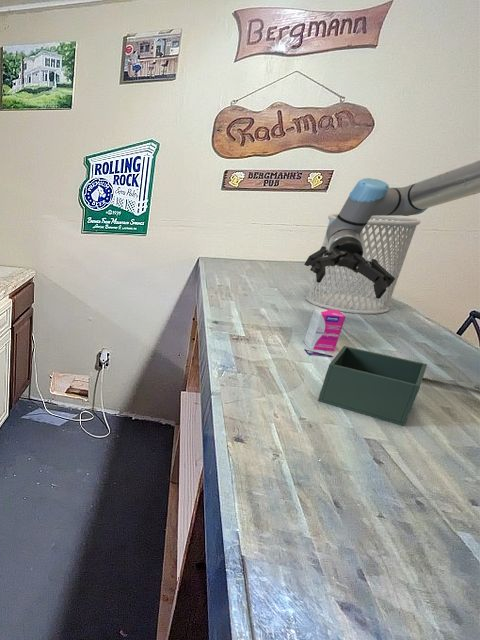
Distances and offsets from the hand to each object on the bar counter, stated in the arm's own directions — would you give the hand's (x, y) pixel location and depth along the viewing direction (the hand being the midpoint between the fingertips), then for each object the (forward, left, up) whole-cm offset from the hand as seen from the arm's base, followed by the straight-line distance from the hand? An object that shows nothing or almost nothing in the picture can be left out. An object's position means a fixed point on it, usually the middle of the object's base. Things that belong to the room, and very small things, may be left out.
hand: (350, 285), depth 114 cm
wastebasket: (+7, -58, -19) cm, 61 cm away
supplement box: (+3, +2, -19) cm, 19 cm away
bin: (-11, +26, -18) cm, 34 cm away
